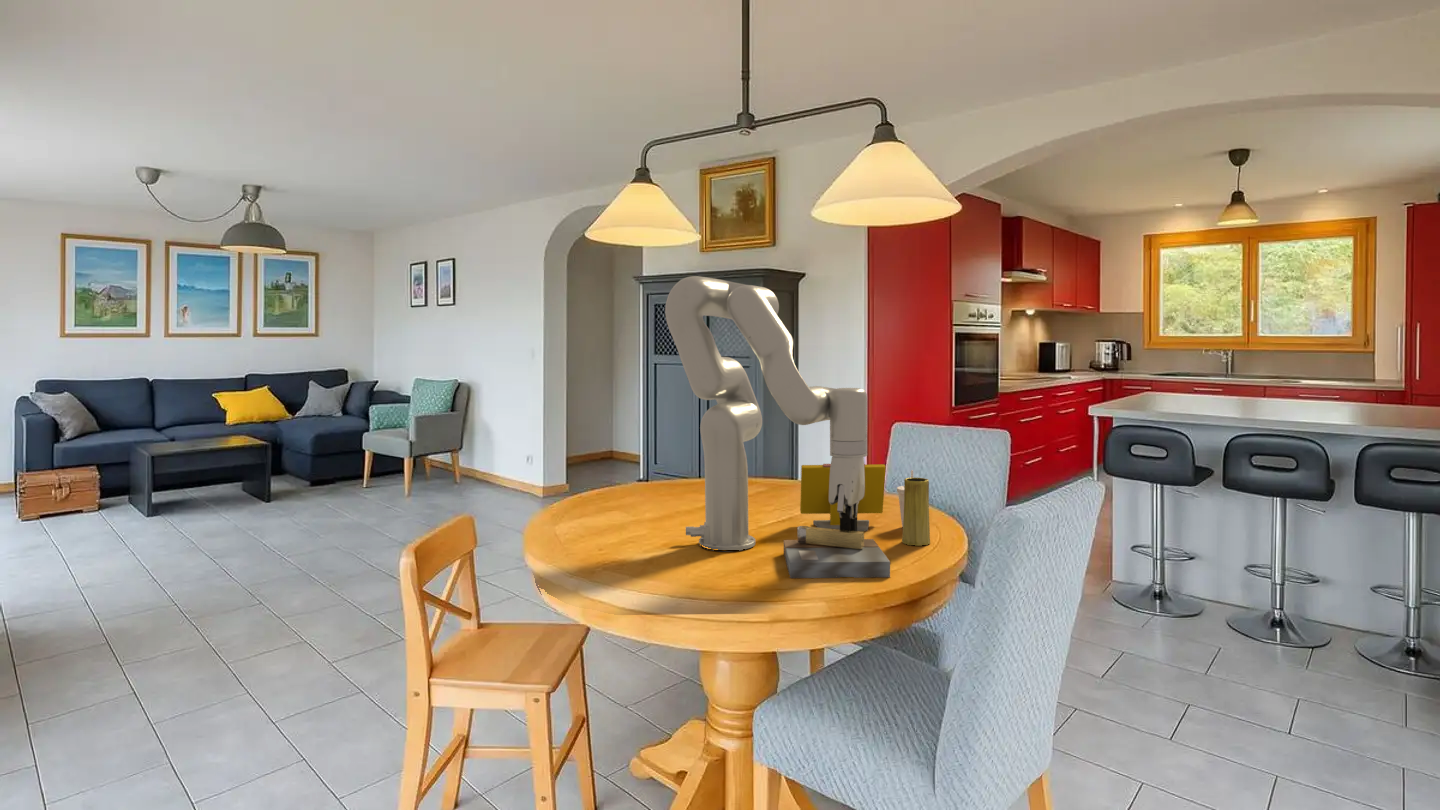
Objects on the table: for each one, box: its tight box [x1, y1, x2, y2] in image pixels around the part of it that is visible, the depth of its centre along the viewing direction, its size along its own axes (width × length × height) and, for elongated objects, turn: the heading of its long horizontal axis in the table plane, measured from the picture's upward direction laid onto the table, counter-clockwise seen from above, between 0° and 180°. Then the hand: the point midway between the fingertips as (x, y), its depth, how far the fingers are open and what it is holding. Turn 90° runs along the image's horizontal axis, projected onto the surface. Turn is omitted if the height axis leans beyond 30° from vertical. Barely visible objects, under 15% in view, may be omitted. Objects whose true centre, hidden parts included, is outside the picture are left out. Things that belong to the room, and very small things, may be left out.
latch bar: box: [796, 525, 865, 549], centre depth 158 cm, size 14×3×3 cm, turn 65°
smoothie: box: [896, 469, 914, 528], centre depth 185 cm, size 6×6×14 cm
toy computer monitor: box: [799, 463, 887, 532], centre depth 186 cm, size 20×8×16 cm, turn 88°
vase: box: [901, 477, 931, 547], centre depth 171 cm, size 6×6×14 cm
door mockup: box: [783, 538, 891, 579], centre depth 155 cm, size 19×17×3 cm
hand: (848, 536), depth 159 cm, fingers closed
